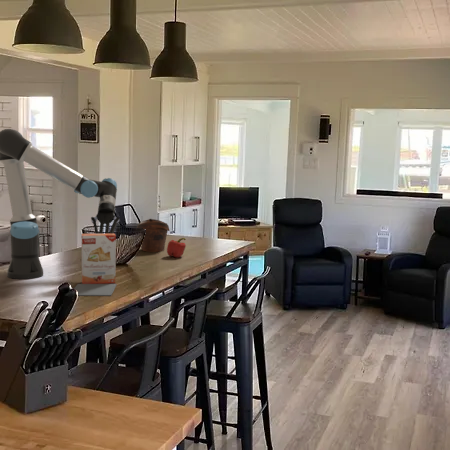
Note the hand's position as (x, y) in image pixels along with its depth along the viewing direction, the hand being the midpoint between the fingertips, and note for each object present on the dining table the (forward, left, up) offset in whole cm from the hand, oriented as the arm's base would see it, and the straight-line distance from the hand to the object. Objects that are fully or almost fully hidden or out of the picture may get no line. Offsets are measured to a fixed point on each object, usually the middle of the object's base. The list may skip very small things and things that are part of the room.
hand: (102, 248), depth 276 cm
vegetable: (+32, +56, -13) cm, 66 cm away
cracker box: (0, -11, -13) cm, 18 cm away
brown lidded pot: (+18, +78, -13) cm, 81 cm away
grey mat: (0, -25, -13) cm, 29 cm away
